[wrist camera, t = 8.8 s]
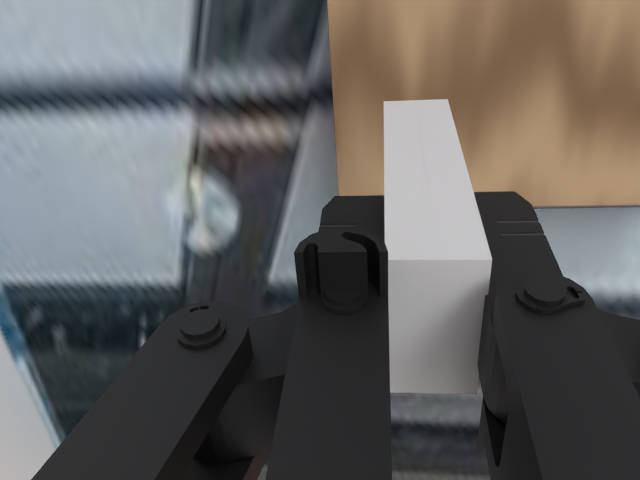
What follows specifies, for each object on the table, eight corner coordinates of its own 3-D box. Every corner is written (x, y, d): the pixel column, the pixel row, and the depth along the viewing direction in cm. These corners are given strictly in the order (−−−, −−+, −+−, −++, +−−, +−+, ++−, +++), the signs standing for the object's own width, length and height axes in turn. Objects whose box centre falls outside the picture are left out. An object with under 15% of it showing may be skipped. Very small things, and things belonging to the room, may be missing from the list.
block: (323, -67, 16) (886, -106, 15) (335, -81, 20) (774, -113, 19) (339, 209, 21) (763, 202, 20) (346, 152, 25) (695, 143, 24)
